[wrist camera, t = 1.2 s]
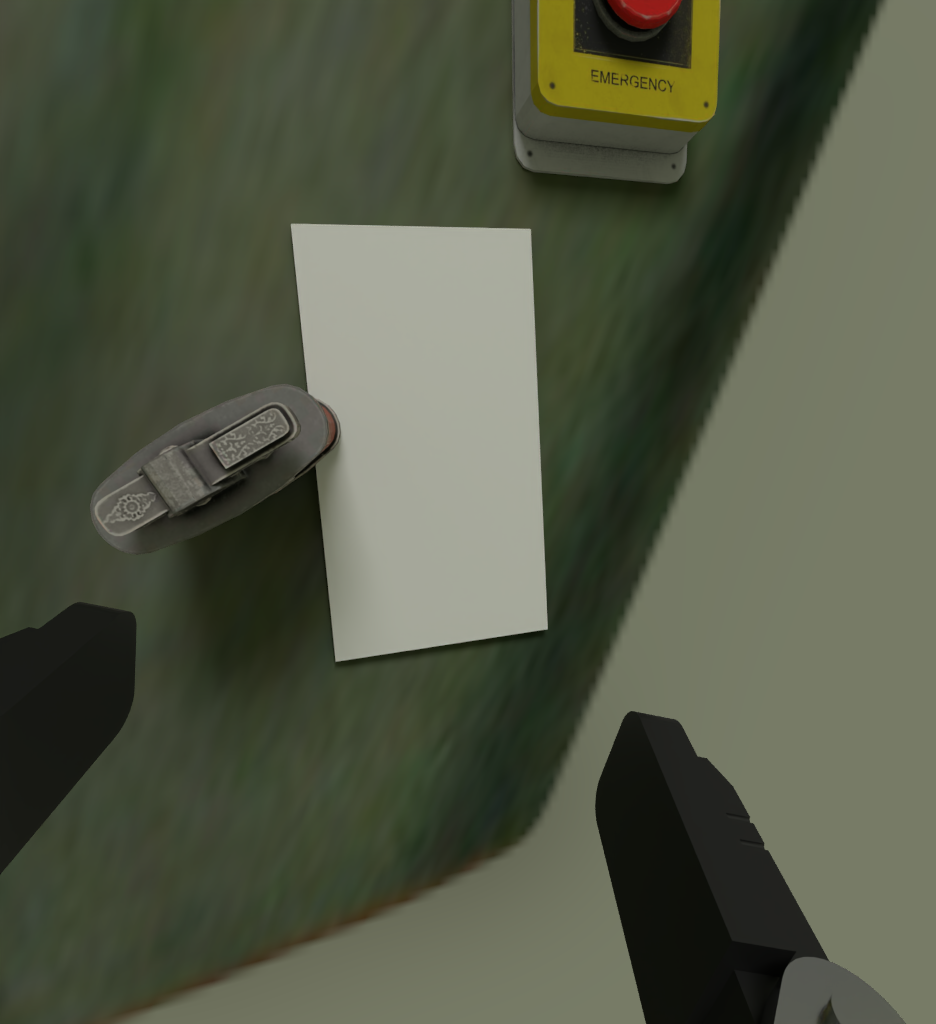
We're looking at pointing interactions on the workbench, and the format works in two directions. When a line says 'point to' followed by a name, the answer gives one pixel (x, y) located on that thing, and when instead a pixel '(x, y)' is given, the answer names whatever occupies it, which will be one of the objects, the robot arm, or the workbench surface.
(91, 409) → the workbench surface
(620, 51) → the emergency button
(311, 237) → the mat
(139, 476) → the lighter
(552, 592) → the workbench surface
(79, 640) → the robot arm
